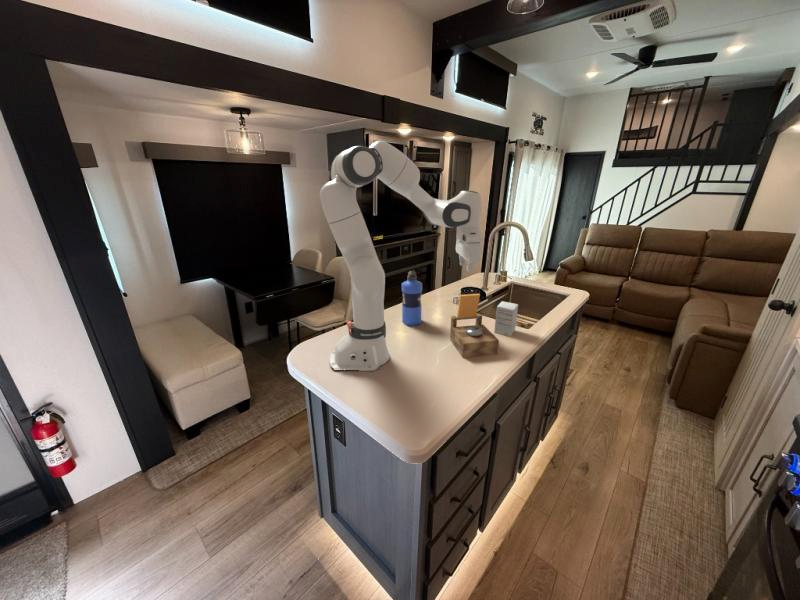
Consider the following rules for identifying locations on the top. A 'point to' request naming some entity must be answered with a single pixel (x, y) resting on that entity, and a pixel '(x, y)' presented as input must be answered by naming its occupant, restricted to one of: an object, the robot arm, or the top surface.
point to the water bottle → (411, 300)
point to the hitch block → (473, 339)
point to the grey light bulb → (473, 331)
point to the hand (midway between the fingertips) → (465, 268)
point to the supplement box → (506, 318)
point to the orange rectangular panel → (468, 306)
